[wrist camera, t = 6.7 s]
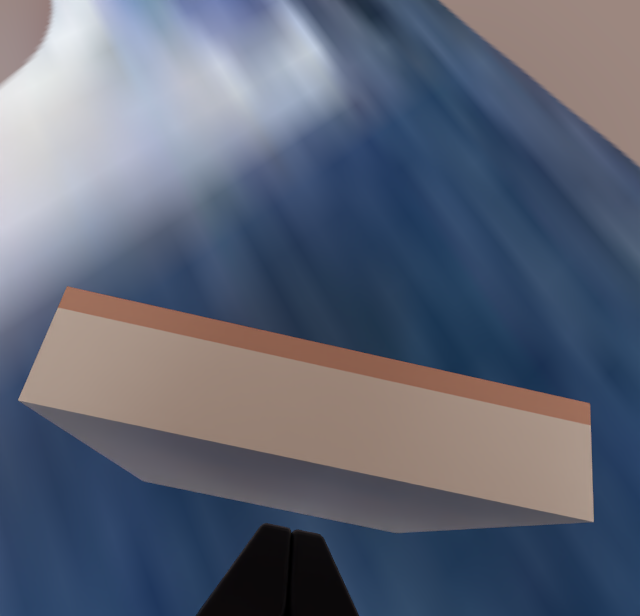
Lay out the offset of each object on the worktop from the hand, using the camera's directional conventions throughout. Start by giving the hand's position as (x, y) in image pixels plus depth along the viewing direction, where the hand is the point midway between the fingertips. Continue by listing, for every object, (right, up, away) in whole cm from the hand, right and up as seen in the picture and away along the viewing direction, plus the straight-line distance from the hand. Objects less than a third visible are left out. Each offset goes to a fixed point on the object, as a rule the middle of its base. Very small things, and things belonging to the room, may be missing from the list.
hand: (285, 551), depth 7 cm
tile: (-1, -1, +7) cm, 8 cm away
